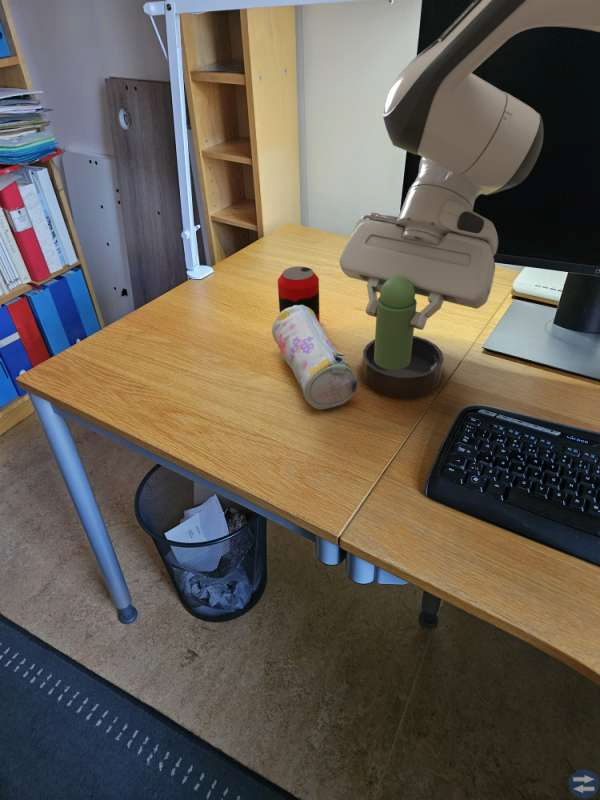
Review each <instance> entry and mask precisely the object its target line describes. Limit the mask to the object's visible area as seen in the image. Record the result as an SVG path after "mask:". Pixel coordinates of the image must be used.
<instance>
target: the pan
mask: <svg viewBox="0 0 600 800" xmlns="http://www.w3.org/2000/svg"><path fill="white" fill-rule="evenodd" d="M374 349H375V338H374V339H373V340H371V341H370V342H368V343H367V344H366V345H365V347H364V348H363V350H362V362H361V363H362V365H361V367H362V368H361V369H362V370H361V371H362V372H361V375H362V379H363V381H364V382H365V383H366V385H367V386H368V387H369V388H371V389H372V390H373V391H375V392H377V393H379V394H382V395H384V396H389V397H394V398H407V399H408V398H415V397H420V396H421V397H422V396H424V395H427V394H429V393H431V392H432V391H434V390H435V389H436V388H437V387H438V386H439V384H440V382H441V377H442V373H443V367H444V359H445V358H444V355H443V351H442V350H441V349H440V347H439V346H438V345H436V344H435V343H434V342H432V341H431V340H428V339H426V338H423V337H420V336H417V335H413V342H412V351H411V360H410V364H409V365H408V366H407V367H405V368H402V369H398V370H389V369H384V368H382V367H380V366H378V365H377V364H376V363H375V361H374Z"/></svg>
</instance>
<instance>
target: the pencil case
mask: <svg viewBox="0 0 600 800" xmlns="http://www.w3.org/2000/svg"><path fill="white" fill-rule="evenodd" d="M271 333H272V338H273V340H274V342H275V343H276V344H277V347H278V349H279V350H280V353H281V355H282V357H283V358H284V360H285V362H286V363H287V365H288V366H289V368H290V369H291V371H292V373H293V374H294V377H295V379H296V380H297V383H298V385H299V386H300V388H301V390H302V393H303V397H304V399H305V400H306V402H307V403H308V404H309V405H310V406H311V407H313V408H314V409H316V410H326V409H327V410H328V409H332V408H335V407H339V406H343V405H344V404H346V403H347V402H348V401H350V399H352V397H353V396H354V395H355V392H357V391H358V378H357V375H356V372H355V370H354V369H353V367H352V366H351V364H350V363H349V362H348V361H347V360H346V359H345V354H344V353H342V352H338V350H337V349H336V347H335V345H334V344H333V343H332V341H331V339H329V337H328V335H327V334H326V331H325V329H324V328H323V326H322V324H321V322H320V323H319V322H318V320H317V318H316V315H315V313H314V312H313V311H312V310H311V309H310V308H308V307H306V306H304V305H300V306H299V305H294V306H293V307H289V308H286V309H285V310H283V311H282V312H281V313H280V312H279V314H278V315H277V316H276V318H275V320H274V322H273V324H272V329H271Z"/></svg>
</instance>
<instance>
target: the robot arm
mask: <svg viewBox="0 0 600 800" xmlns="http://www.w3.org/2000/svg"><path fill="white" fill-rule="evenodd" d="M546 27H551V28H552V27H556V28H557V27H558V28H569V29H571V28H572V29H579V30H587V31H593V32H596V33H600V0H473V1H472V2H471V3H470V4H469V5H468V6H467V7H466V8H465V9H464V10H463V12H461V14H459V16H458V17H456V19H455V20H454V21H453V22H452V23H451V24H450V25H449V26H448V27H447V28H446V29H445V30H444V31H443V32H442V33H441V34H440V35H439V37H437V39H436V40H434V41H433V42H432V43H431V44H430V45H428V46H427V47H426V48H425V49H423V50H422V51H421V52H420V53H418V54H417V55H416V56H415V57H414V58H412V60H411V61H410V62H409V63H408V64H407V65H406V66H405V67H404V69H402V70H401V72H400V73H399V74H398V75H397V77H396V79H395V80H394V82H393V84H392V85H391V87H390V90H389V91H388V94H387V97H386V100H385V103H384V106H383V110H382V116H383V122H384V126H385V129H386V132H387V134H388V137H389V140H390V141H391V144H392V145H393V146H394V147H396V148H399V149H401V150H404V151H406V152H408V153H411V154H413V155H418V156H420V157H421V158H420V160H419V166H418V174H417V177H416V178H415V180H414V181H413V182H412V184H411V186H410V187H409V189H408V191H407V193H406V197H405V199H404V201H403V204H402V207H401V208H400V209H401V210H400V212H399V215H398V216H393V215H386V214H385V215H384V214H380V213H378V212H370V213H369V214H366V215H363V216H361V217H359V218H358V219H357V221H356V223H355V225H354V228H353V230H352V233H351V236H350V238H349V239H348V241H347V243H346V245H345V247H344V248H343V250H342V253H341V255H340V258H339V263H338V264H339V266H340V269H341V271H342V272H343V274H345V276H347V277H348V278H350V279H353V280H358V281H362V282H365V283H366V290H367V296H368V303H367V305H366V307H365V313H366V314H367V316H370V317H374V318H376V315H377V300H378V293H380V291H381V288H382V286H383V284H384V283H385V282H386V281H387V280H389V279H390V278H393V277H404V278H406V279H408V280H409V281H410V282H411V283H412V284H413V286H414V289H415V295H419V296H423V297H427V300H428V304H427V305H426V306H425V307H424V308H423V309H422V310H421V311H417V310H416V311H414V313H413V318H412V319H411V320H410V325H411V327H413V328H414V329H416V330H421V331H423V330H424V328H425V326H426V324H427V321H428V319H430V318H431V317H433V316H434V315H435V314H436V313H437V312H438V311H440V310H441V309H442V306H443V303H444V302H447V303H451V304H455V305H459V306H463V307H468V308H471V309H474V310H475V309H476V310H478V309H480V308H481V307H483V306H485V305H486V304H487V302H488V301H489V297H490V293H491V291H492V288H493V283H494V279H495V274H496V262H495V258H494V256H495V255H496V254H497V251H498V248H499V236H498V232H497V230H496V227H495V225H494V223H493V222H492V221H491V220H489V219H488V218H487V217H484V216H483V215H480V214H478V213H477V212H475V211H474V206H475V202H476V200H477V198H478V197H479V196H480V195H484V196H489V195H494V194H497V193H500V192H502V191H505V190H508V189H511V188H514V187H516V186H518V185H520V184H521V183H523V182H524V181H525V180H526V179H527V178H528V176H529V175H530V174H531V171H532V170H533V168H534V166H535V164H536V163H537V160H538V158H539V156H540V153H541V150H542V147H543V143H544V122H543V118H542V115H541V113H539V112H537V111H536V110H535V109H534V108H532V107H531V106H529V105H528V104H527V103H525V102H523V101H521V99H519V98H517V97H514V96H513V95H512V94H510V93H508V92H507V91H503V90H501V89H499V88H497V87H496V86H494V85H493V84H492V83H490V82H488V81H486V80H484V79H483V78H481V77H479V76H478V75H476V74H474V73H473V72H474V71H475V70H476V69H477V68H478V67H480V66H481V65H483V63H484V62H485V61H486V60H487V59H489V58H490V57H491V56H492V55H493V54H494V53H495V52H496V51H497V50H498V49H499V48H500V47H502V46H503V45H504V44H505V43H506V42H507V41H508V40H510V39H511V38H512V37H514V36H515V35H517V34H520V33H521V32H524V31H528V30H531V29H536V28H546Z"/></svg>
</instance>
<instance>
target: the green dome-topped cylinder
mask: <svg viewBox="0 0 600 800" xmlns="http://www.w3.org/2000/svg"><path fill="white" fill-rule="evenodd" d="M417 304H418V302H417V299H416V294H415V289H414V286H413V284H412V283H411V282H410V281H409V280H408V279H406V278H404V277H393V278H390V279H389V280H387V281H386V282H385V283H384V284H383V286H382V288H381V291H380V294H379V297H377V315H376V317H375V333H374V335H375V336H374V339H375V349H374V361H375V363H376V364H377V365H378V366H380V367H382V368H384V369H389V370H398V369H402V368H405V367H407V366H408V365H409V364H410V360H411V351H412V342H413V336H414V331H415V328H413V327H411V325H410V320H411V319H412V318H413V313H414V311H416V312H417Z"/></svg>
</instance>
